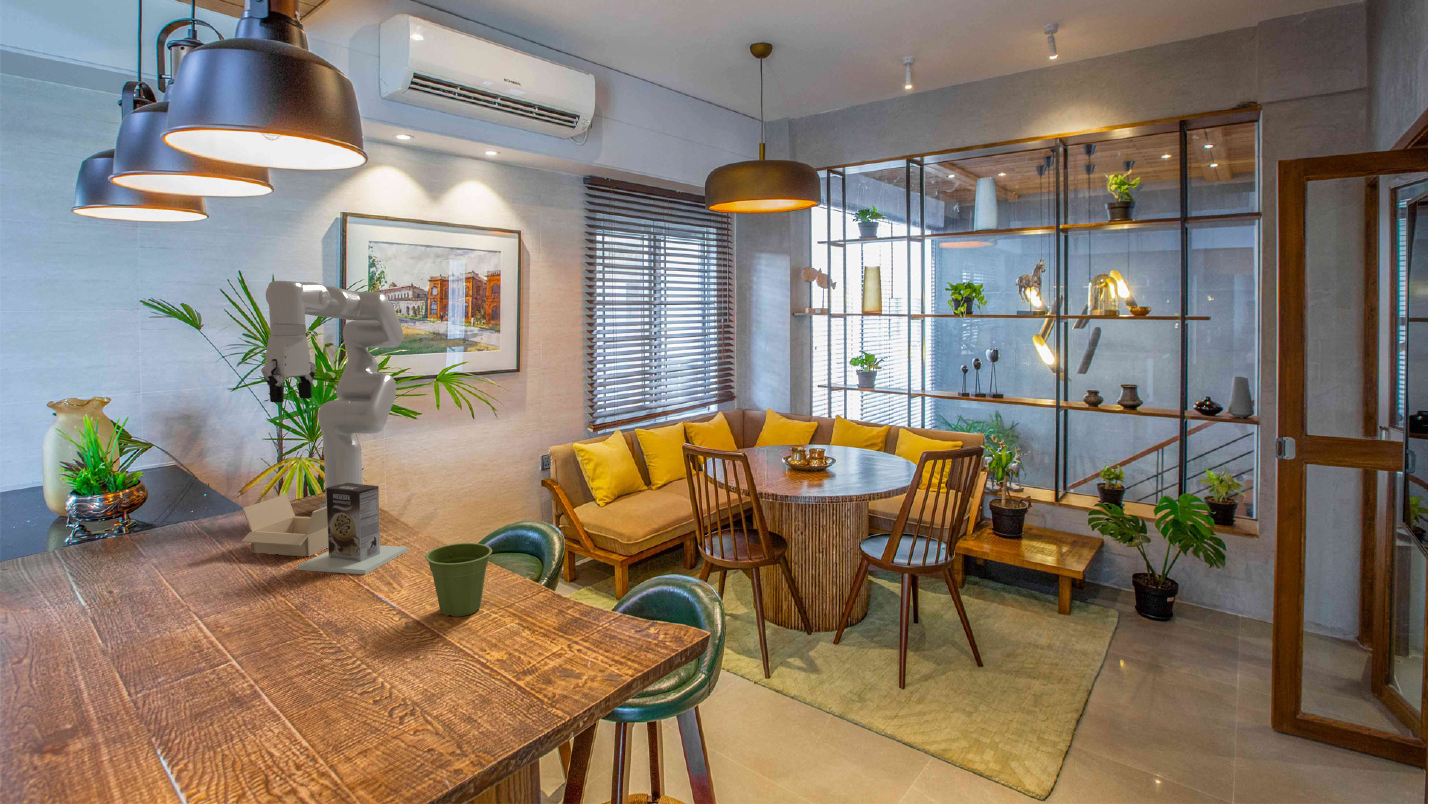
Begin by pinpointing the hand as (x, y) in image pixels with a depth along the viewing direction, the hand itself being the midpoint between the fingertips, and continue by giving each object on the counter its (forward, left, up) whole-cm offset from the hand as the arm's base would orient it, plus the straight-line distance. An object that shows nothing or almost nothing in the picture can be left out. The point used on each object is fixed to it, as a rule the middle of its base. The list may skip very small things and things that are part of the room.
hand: (291, 400), depth 174 cm
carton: (+9, +8, -34) cm, 36 cm away
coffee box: (+16, +27, -34) cm, 46 cm away
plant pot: (+38, +64, -34) cm, 82 cm away
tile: (+16, +27, -34) cm, 46 cm away
